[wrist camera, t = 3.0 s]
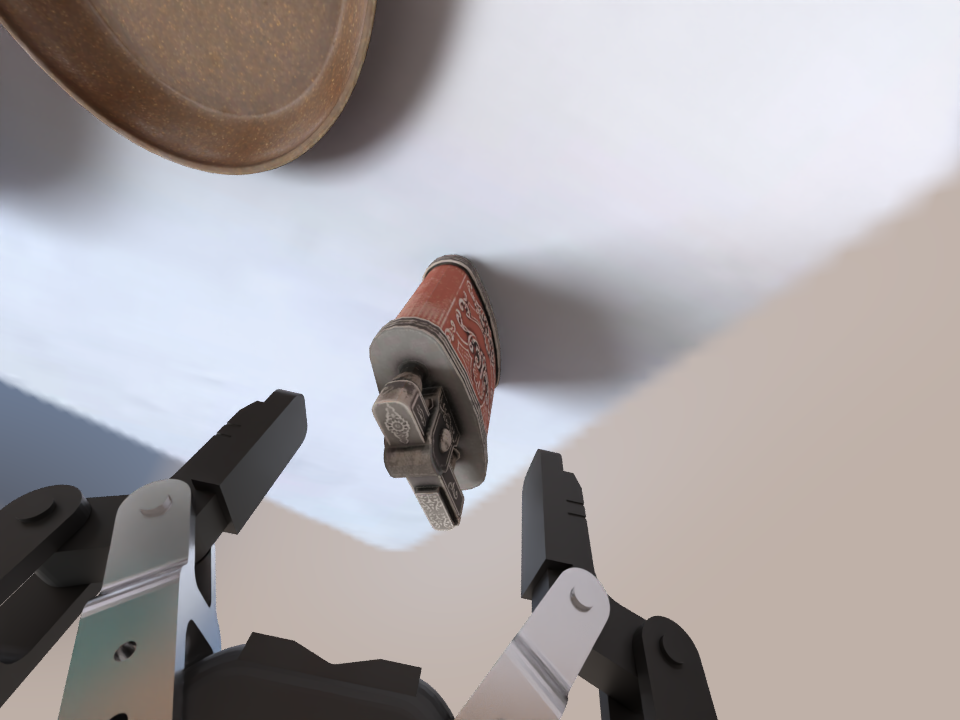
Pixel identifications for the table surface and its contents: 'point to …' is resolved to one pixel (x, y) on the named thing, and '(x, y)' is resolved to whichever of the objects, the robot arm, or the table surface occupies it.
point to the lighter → (438, 387)
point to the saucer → (203, 71)
